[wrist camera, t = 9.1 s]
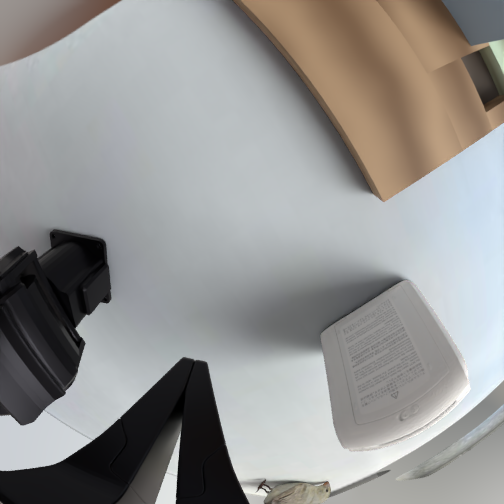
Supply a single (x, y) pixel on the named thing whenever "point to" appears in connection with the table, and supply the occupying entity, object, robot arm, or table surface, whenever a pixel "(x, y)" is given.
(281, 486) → the decorative bird
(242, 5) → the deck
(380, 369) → the photo printer
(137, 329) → the table surface
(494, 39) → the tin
